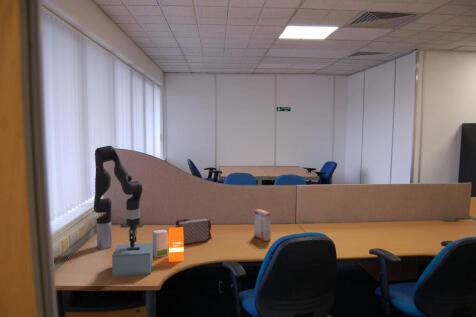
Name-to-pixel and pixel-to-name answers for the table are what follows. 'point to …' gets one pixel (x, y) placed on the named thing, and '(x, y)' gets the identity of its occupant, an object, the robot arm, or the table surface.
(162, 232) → the skincare box
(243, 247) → the table surface
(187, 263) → the table surface
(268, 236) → the cracker box
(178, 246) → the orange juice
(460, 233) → the table surface
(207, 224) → the handbag
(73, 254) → the table surface
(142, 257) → the box
